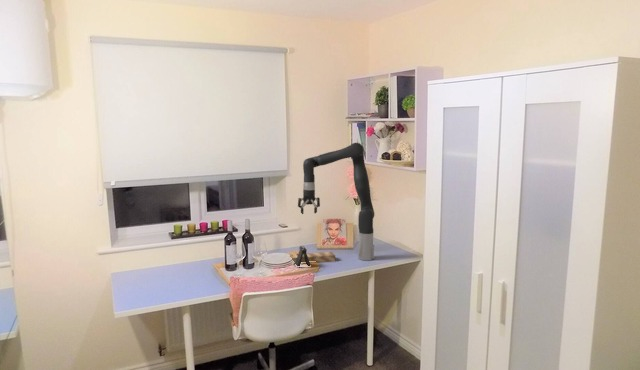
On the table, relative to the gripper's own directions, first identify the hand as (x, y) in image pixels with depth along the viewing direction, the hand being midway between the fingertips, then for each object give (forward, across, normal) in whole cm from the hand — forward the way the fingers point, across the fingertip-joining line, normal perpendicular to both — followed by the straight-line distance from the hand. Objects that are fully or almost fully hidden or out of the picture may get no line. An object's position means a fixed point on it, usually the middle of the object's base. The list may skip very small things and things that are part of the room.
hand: (308, 213), depth 292 cm
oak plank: (+28, +1, +13) cm, 31 cm away
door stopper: (+28, +10, +22) cm, 37 cm away
